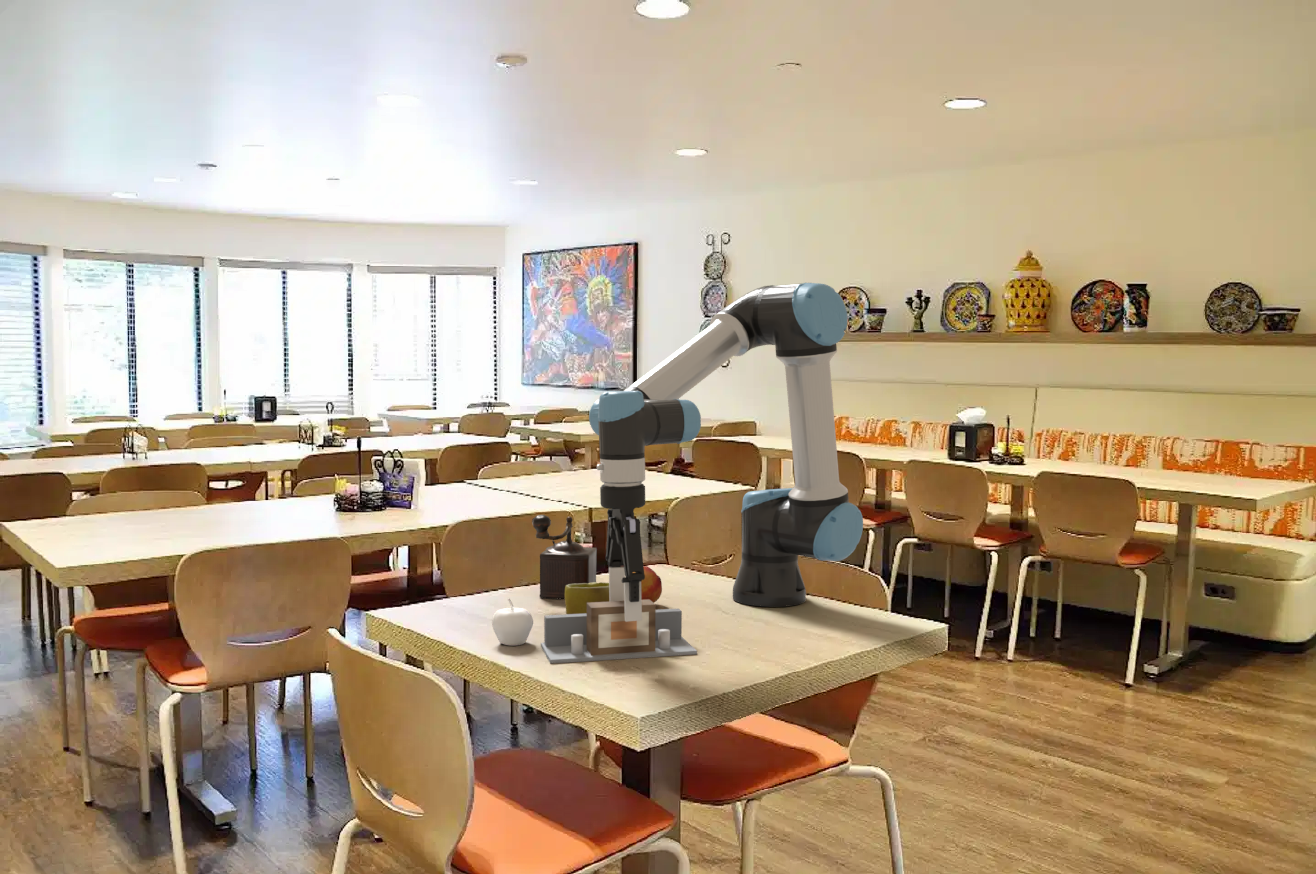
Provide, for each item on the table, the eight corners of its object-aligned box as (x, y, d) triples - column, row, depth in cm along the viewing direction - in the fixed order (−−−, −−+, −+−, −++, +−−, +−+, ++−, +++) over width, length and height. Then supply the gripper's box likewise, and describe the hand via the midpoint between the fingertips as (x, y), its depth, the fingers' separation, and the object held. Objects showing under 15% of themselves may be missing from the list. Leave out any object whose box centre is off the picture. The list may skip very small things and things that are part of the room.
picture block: (649, 645, 189) (649, 599, 188) (655, 651, 185) (655, 604, 184) (586, 649, 186) (586, 602, 185) (591, 655, 182) (591, 608, 181)
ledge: (679, 638, 196) (679, 607, 196) (696, 654, 185) (697, 621, 185) (540, 646, 190) (540, 614, 189) (550, 663, 179) (550, 629, 179)
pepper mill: (547, 588, 238) (547, 505, 236) (597, 590, 236) (597, 507, 235) (529, 604, 222) (528, 516, 221) (582, 606, 221) (582, 517, 219)
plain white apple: (495, 638, 195) (495, 593, 195) (535, 638, 195) (535, 594, 194) (488, 648, 188) (488, 602, 188) (529, 649, 188) (529, 603, 187)
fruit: (667, 609, 218) (667, 569, 218) (627, 611, 216) (627, 571, 216) (657, 600, 226) (657, 562, 225) (619, 602, 224) (619, 564, 223)
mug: (615, 626, 196) (602, 572, 198) (563, 640, 199) (550, 586, 201) (634, 623, 208) (621, 572, 210) (585, 637, 210) (572, 586, 212)
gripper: (587, 476, 193) (589, 598, 195) (615, 493, 171) (618, 631, 172) (628, 474, 195) (631, 595, 197) (662, 490, 172) (664, 627, 174)
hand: (625, 612), depth 185 cm, fingers open, 11 cm apart
